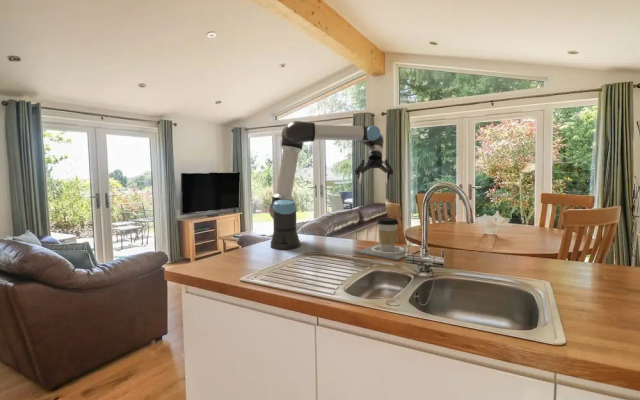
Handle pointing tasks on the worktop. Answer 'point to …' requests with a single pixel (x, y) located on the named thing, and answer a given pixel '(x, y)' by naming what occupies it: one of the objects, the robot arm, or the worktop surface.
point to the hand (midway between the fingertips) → (372, 183)
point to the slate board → (376, 251)
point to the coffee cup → (387, 233)
